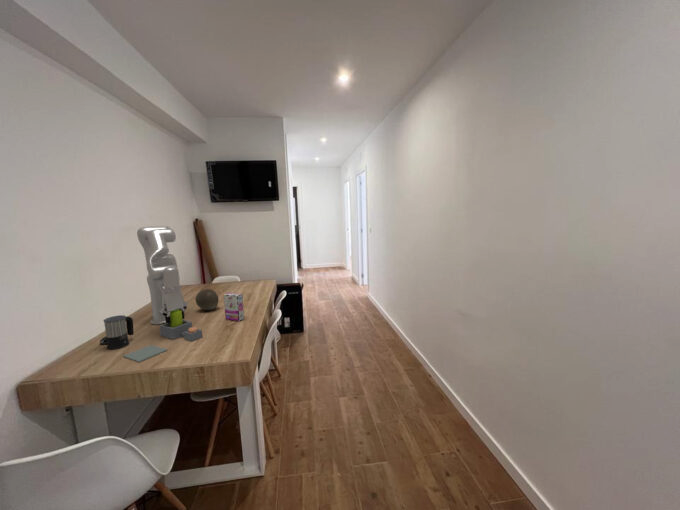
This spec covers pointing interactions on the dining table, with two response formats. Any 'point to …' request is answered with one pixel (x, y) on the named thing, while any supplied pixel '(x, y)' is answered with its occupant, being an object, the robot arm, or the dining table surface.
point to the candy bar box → (234, 306)
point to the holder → (180, 331)
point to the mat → (145, 353)
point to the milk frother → (117, 331)
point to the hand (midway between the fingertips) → (175, 320)
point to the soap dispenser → (176, 318)
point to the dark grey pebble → (207, 299)
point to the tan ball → (192, 329)
